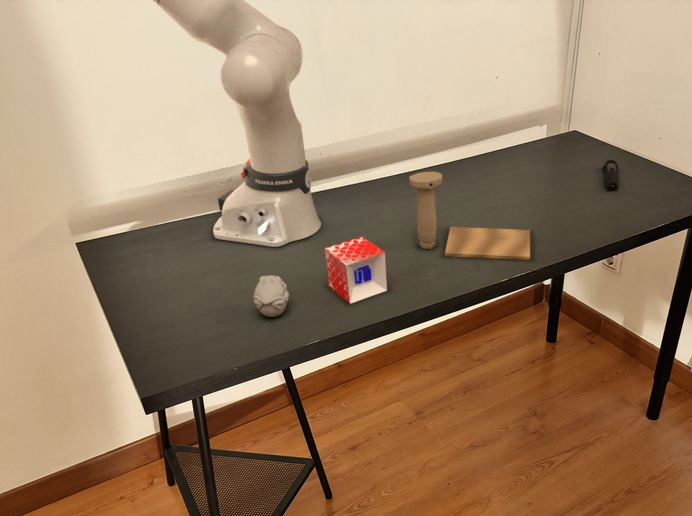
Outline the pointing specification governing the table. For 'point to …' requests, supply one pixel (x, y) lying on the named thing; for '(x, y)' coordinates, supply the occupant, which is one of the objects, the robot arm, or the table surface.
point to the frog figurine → (271, 295)
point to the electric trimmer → (611, 174)
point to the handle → (426, 206)
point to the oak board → (488, 243)
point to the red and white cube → (356, 269)
